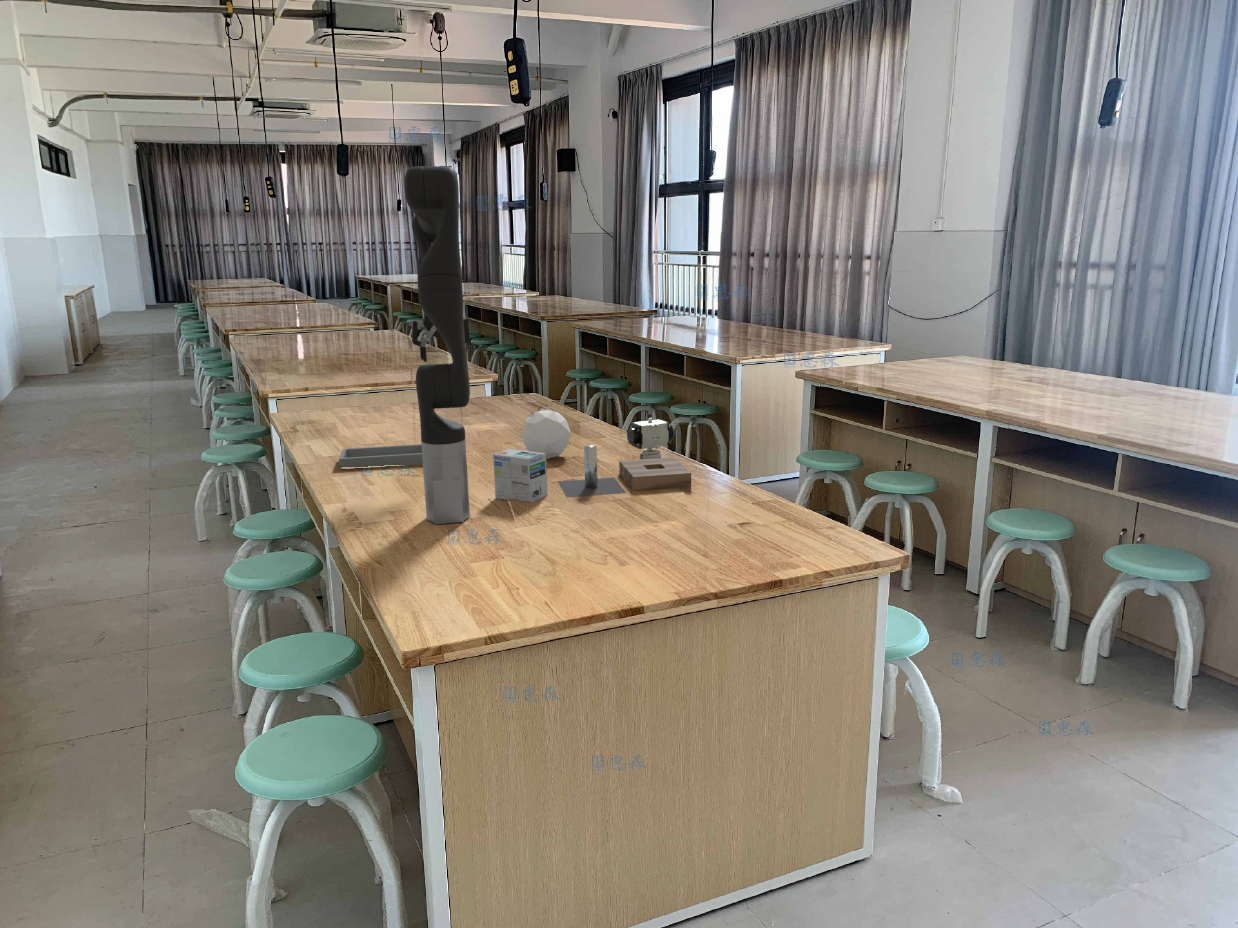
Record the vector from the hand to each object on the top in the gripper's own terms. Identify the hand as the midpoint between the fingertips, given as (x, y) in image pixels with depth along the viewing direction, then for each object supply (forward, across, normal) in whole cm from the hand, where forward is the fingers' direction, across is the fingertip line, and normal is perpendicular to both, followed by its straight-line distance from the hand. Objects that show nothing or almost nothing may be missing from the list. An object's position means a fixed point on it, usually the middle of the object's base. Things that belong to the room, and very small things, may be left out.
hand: (442, 360), depth 229 cm
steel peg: (+28, +30, -31) cm, 52 cm away
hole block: (+29, +46, -30) cm, 62 cm away
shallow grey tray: (+28, -15, +13) cm, 35 cm away
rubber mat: (+29, +30, -31) cm, 52 cm away
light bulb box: (+29, +13, -33) cm, 46 cm away
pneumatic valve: (+29, +52, -12) cm, 60 cm away
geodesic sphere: (+28, +27, +4) cm, 39 cm away
